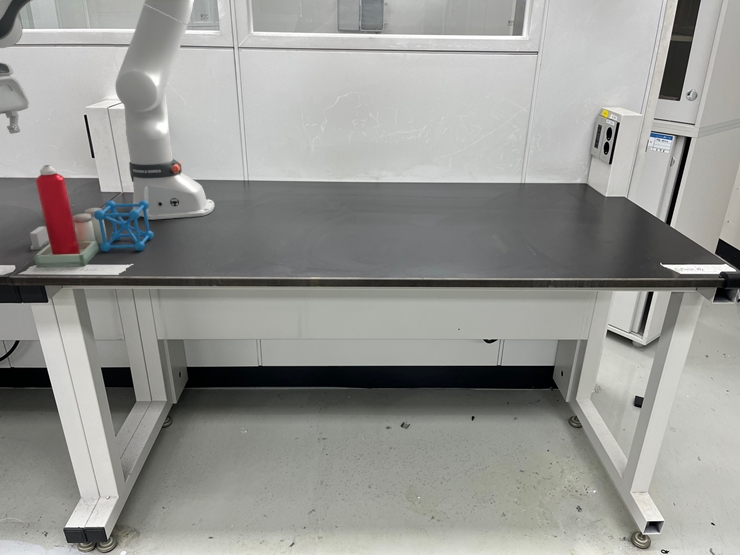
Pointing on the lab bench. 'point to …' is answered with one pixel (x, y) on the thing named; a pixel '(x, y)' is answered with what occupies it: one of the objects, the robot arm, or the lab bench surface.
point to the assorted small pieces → (86, 237)
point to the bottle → (57, 212)
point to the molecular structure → (124, 225)
